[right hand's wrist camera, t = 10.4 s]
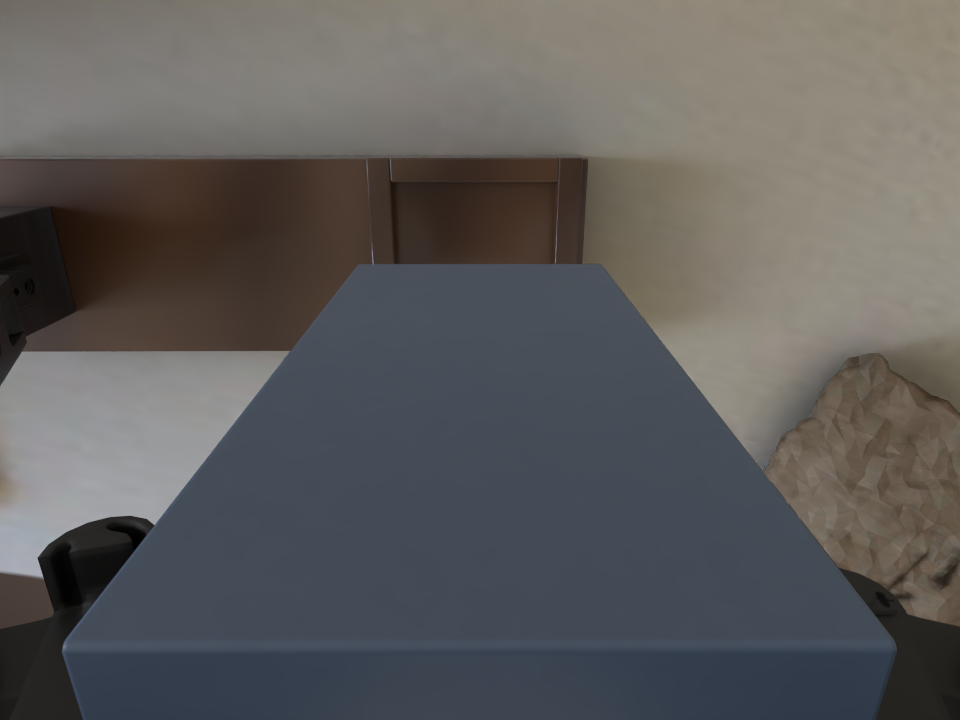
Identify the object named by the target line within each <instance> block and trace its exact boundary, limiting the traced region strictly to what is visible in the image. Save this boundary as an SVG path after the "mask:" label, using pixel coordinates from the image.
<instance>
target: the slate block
mask: <svg viewBox="0 0 960 720" xmlns="http://www.w3.org/2000/svg"><path fill="white" fill-rule="evenodd" d="M62 654H63V657H64V660H65V663H66V667H67V670H68V673H69V676H70V679H71V683H72V686H73V689H74V692H75V695H76V699H77V702H78V705H79V708H80V711H81V715H82V718H83V720H876V718H877V715H878V712H879V708H880V705H881V702H882V699H883V696H884V692H885V689H886V686H887V683H888V680H889V676H890V673H891V670H892V667H893V663H894V660H895V657H896V654H897V647H896V644H895V641H894V639H893V638H892V637H891V635H890V634H889V633H888V631H887V630H886V629H885V628H884V626H883V625H882V624H881V622H880V621H879V620H878V619H877V617H876V616H875V615H874V613H873V612H872V611H871V610H870V608H869V607H868V606H867V605H866V603H865V602H864V601H863V599H862V598H861V597H860V596H859V594H858V593H857V592H856V590H855V589H854V588H853V587H852V585H851V584H850V583H849V581H848V580H847V579H846V578H845V576H844V575H843V574H842V572H841V571H840V570H839V569H838V567H837V566H836V565H835V563H834V562H833V561H832V560H831V558H830V557H829V556H828V554H827V553H826V552H825V551H824V549H823V548H822V547H821V546H820V544H819V543H818V542H817V540H816V539H815V538H814V537H813V535H812V534H811V533H810V531H809V530H808V529H807V528H806V526H805V525H804V524H803V522H802V521H801V520H800V519H799V517H798V516H797V515H796V513H795V512H794V511H793V510H792V508H791V507H790V506H789V504H788V503H787V502H786V501H785V499H784V498H783V497H782V495H781V494H780V493H779V492H778V490H777V489H776V488H775V486H774V485H773V484H772V483H771V481H770V480H769V479H768V478H767V476H766V475H765V474H764V472H763V471H762V470H761V469H760V467H759V466H758V465H757V463H756V462H755V461H754V460H753V458H752V457H751V456H750V454H749V453H748V452H747V451H746V449H745V448H744V447H743V445H742V444H741V443H740V442H739V440H738V439H737V438H736V436H735V435H734V434H733V433H732V431H731V430H730V429H729V427H728V426H727V425H726V424H725V422H724V421H723V420H722V419H721V417H720V416H719V415H718V413H717V412H716V411H715V410H714V408H713V407H712V406H711V404H710V403H709V402H708V401H707V399H706V398H705V397H704V395H703V394H702V393H701V392H700V390H699V389H698V388H697V386H696V385H695V384H694V383H693V381H692V380H691V379H690V377H689V376H688V375H687V374H686V372H685V371H684V370H683V368H682V367H681V366H680V365H679V363H678V362H677V361H676V359H675V358H674V357H673V356H672V354H671V353H670V352H669V351H668V349H667V348H666V347H665V345H664V344H663V343H662V342H661V340H660V339H659V338H658V336H657V335H656V334H655V333H654V331H653V330H652V329H651V327H650V326H649V325H648V324H647V322H646V321H645V320H644V318H643V317H642V316H641V315H640V313H639V312H638V311H637V309H636V308H635V307H634V306H633V304H632V303H631V302H630V300H629V299H628V298H627V297H626V295H625V294H624V293H623V292H622V290H621V289H620V288H619V286H618V285H617V284H616V283H615V281H614V280H613V279H612V277H611V276H610V275H609V274H608V272H607V271H606V270H605V268H604V267H603V266H602V265H601V264H359V265H357V267H356V268H355V269H354V271H353V272H352V273H351V274H350V276H349V277H348V278H347V280H346V281H345V282H344V283H343V285H342V286H341V287H340V289H339V290H338V291H337V292H336V294H335V295H334V296H333V298H332V299H331V300H330V301H329V303H328V304H327V305H326V306H325V308H324V309H323V310H322V312H321V313H320V314H319V315H318V317H317V318H316V319H315V321H314V322H313V323H312V324H311V326H310V327H309V328H308V330H307V331H306V332H305V333H304V335H303V336H302V337H301V339H300V340H299V341H298V342H297V344H296V345H295V346H294V347H293V349H292V350H291V351H290V353H289V354H288V355H287V356H286V358H285V359H284V360H283V362H282V363H281V364H280V365H279V367H278V368H277V369H276V371H275V372H274V373H273V374H272V376H271V377H270V378H269V380H268V381H267V382H266V383H265V385H264V386H263V387H262V388H261V390H260V391H259V392H258V394H257V395H256V396H255V397H254V399H253V400H252V401H251V403H250V404H249V405H248V406H247V408H246V409H245V410H244V412H243V413H242V414H241V415H240V417H239V418H238V419H237V421H236V422H235V423H234V424H233V426H232V427H231V428H230V429H229V431H228V432H227V433H226V435H225V436H224V437H223V438H222V440H221V441H220V442H219V444H218V445H217V446H216V447H215V449H214V450H213V451H212V453H211V454H210V455H209V456H208V458H207V459H206V460H205V462H204V463H203V464H202V465H201V467H200V468H199V469H198V470H197V472H196V473H195V474H194V476H193V477H192V478H191V479H190V481H189V482H188V483H187V485H186V486H185V487H184V488H183V490H182V491H181V492H180V494H179V495H178V496H177V497H176V499H175V500H174V501H173V503H172V504H171V505H170V506H169V508H168V509H167V510H166V511H165V513H164V514H163V515H162V517H161V518H160V519H159V520H158V522H157V523H156V524H155V526H154V527H153V528H152V529H151V531H150V532H149V533H148V535H147V536H146V537H145V538H144V540H143V541H142V542H141V544H140V545H139V546H138V547H137V549H136V550H135V551H134V552H133V554H132V555H131V556H130V558H129V559H128V560H127V561H126V563H125V564H124V565H123V567H122V568H121V569H120V570H119V572H118V573H117V574H116V576H115V577H114V578H113V579H112V581H111V582H110V583H109V585H108V586H107V587H106V588H105V590H104V591H103V592H102V593H101V595H100V596H99V597H98V599H97V600H96V601H95V602H94V604H93V605H92V606H91V608H90V609H89V610H88V611H87V613H86V614H85V615H84V617H83V618H82V619H81V620H80V622H79V623H78V624H77V626H76V627H75V628H74V629H73V631H72V632H71V633H70V634H69V636H68V637H67V638H66V640H65V641H64V644H63V648H62Z"/></svg>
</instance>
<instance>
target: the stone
mask: <svg viewBox="0 0 960 720" xmlns="http://www.w3.org/2000/svg"><path fill="white" fill-rule="evenodd" d="M764 474H765V475H766V476H767V478H768V479H769V480H770V481H771V482H772V483H773V484H774V485H775V487H776V488H777V489H778V491H779V492H780V493H781V494H782V496H783V497H784V498H785V500H786V502H787V503H788V504H789V505H790V506H791V507H792V509H793V510H794V511H795V512H796V514H797V515H798V517H799V519H801V520H802V521H803V523H804V524H805V525H806V526H807V528H808V529H809V530H810V532H811V533H812V534H813V535H814V537H815V538H816V539H817V541H818V542H819V543H820V544H821V546H822V547H823V548H824V550H825V551H826V552H827V553H828V555H829V556H830V557H831V558H832V560H833V561H834V562H835V564H836V565H837V566H838V567H839V568H842V569H846V570H849V571H853V572H856V573H859V574H861V575H863V576H865V577H867V578H869V579H871V580H873V581H875V582H877V583H879V584H881V585H882V586H883V587H884V588H886V589H887V590H888V591H889V592H891V593H892V594H893V595H894V596H896V598H897V599H898V600H899V602H900V603H901V605H902V606H903V608H904V609H905V611H906V612H907V614H909V615H912V616H916V617H919V618H924V619H928V620H933V621H937V622H942V623H947V624H951V625H956V626H960V414H959V413H958V412H957V411H956V410H955V408H954V407H953V406H952V405H951V404H950V403H949V401H946V400H943V399H940V398H939V397H936V396H931V395H930V394H929V393H927V392H926V391H925V390H923V389H922V388H920V387H919V386H918V385H916V384H915V383H912V382H908V381H907V380H906V379H904V378H903V377H901V376H900V375H898V374H896V373H895V372H893V371H891V370H890V369H889V365H888V362H887V360H886V359H885V358H884V357H883V356H882V355H880V354H879V353H873V354H865V355H862V356H858V357H852V358H848V359H847V360H846V361H845V363H844V364H843V366H842V367H841V369H840V370H839V372H838V373H837V374H836V375H835V376H834V377H833V378H831V379H830V380H829V381H828V383H827V385H826V386H825V388H824V389H823V391H822V393H821V394H820V396H819V398H818V399H817V401H816V403H815V404H814V406H813V409H812V411H811V413H810V414H809V415H808V416H807V417H806V418H805V419H803V420H801V422H800V423H799V424H798V425H797V426H796V427H795V428H794V429H793V430H791V431H789V432H787V433H784V434H783V435H782V437H781V439H780V441H779V443H778V446H777V448H776V450H775V452H774V453H773V454H772V455H771V456H770V461H769V465H768V467H767V468H766V470H765V471H764Z"/></svg>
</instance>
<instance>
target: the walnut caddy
mask: <svg viewBox="0 0 960 720" xmlns="http://www.w3.org/2000/svg"><path fill="white" fill-rule="evenodd" d="M587 170H588V159H587V158H584V157H582V156H0V255H3V254H26V255H28V256H29V257H30V258H31V260H32V263H33V264H35V267H36V271H37V275H38V279H39V283H40V287H41V290H42V294H43V298H42V300H41V301H39V303H38V304H37V305H36V306H34V307H32V308H30V309H27V310H25V311H23V312H21V313H19V315H20V318H21V322H22V326H23V330H24V333H25V337H26V340H27V344H26V346H25V347H24V349H23V350H22V351H291V350H292V349H293V347H294V346H295V345H296V344H297V342H298V341H299V340H300V339H301V337H302V336H303V335H304V333H305V332H306V331H307V330H308V328H309V327H310V326H311V324H312V323H313V322H314V321H315V319H316V318H317V317H318V315H319V314H320V313H321V312H322V310H323V309H324V308H325V306H326V305H327V304H328V303H329V301H330V300H331V299H332V298H333V296H334V295H335V294H336V292H337V291H338V290H339V289H340V287H341V286H342V285H343V283H344V282H345V281H346V280H347V278H348V277H349V276H350V274H351V273H352V272H353V271H354V269H355V268H356V267H357V265H359V264H582V255H583V238H584V221H585V204H586V187H587Z"/></svg>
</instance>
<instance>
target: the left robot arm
mask: <svg viewBox="0 0 960 720" xmlns="http://www.w3.org/2000/svg"><path fill="white" fill-rule="evenodd" d="M42 298H43V294H42V290H41V287H40V283H39V279H38V275H37V271H36V267H35V264H33V263H32V260H31V258H30V257H29V256H28V255H26V254H3V255H0V386H1V384H2V383H3V381H4V379H5V378H6V376H7V374H8V373H9V371H10V370H11V368H12V366H13V365H14V363H15V362H16V360H17V358H18V357H19V355H20V354H21V352H22V350H23V349H24V347H25V346H26V344H27V340H26V337H25V333H24V330H23V326H22V322H21V318H20V315H19V313H21V312H23V311H25V310H27V309H30V308H32V307H34V306H36V305H37V304H38V303H39V301H41V300H42Z"/></svg>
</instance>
